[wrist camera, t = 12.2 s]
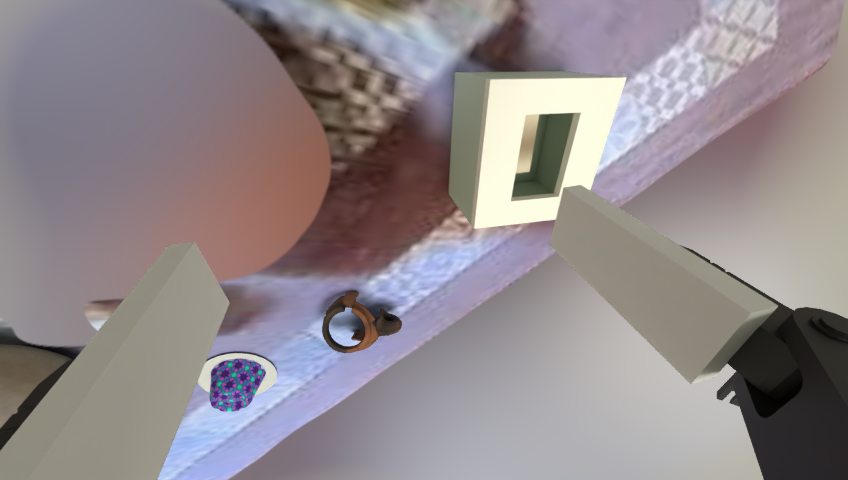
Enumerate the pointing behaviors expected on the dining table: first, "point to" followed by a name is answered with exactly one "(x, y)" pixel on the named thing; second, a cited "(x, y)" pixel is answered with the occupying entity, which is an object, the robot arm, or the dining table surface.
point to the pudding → (236, 380)
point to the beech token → (527, 143)
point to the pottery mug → (383, 326)
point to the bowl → (23, 374)
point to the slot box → (502, 133)
